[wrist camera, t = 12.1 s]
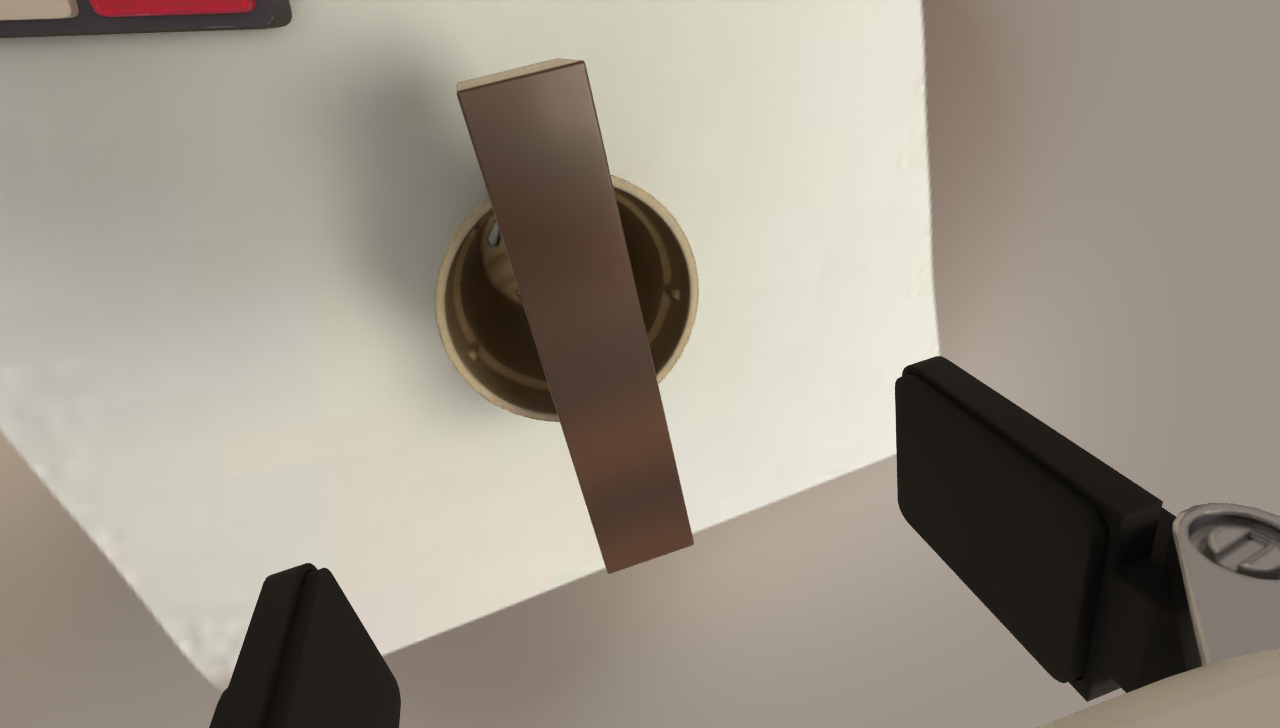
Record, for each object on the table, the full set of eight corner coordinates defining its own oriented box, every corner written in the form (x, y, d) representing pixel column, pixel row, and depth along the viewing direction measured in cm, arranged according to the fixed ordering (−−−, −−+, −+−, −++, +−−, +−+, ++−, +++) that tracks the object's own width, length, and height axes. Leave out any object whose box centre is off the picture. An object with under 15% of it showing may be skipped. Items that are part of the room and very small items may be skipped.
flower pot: (420, 149, 28) (408, 186, 21) (636, 130, 30) (696, 157, 23) (459, 350, 33) (461, 442, 25) (647, 322, 34) (701, 400, 27)
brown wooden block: (455, 83, 20) (455, 91, 16) (559, 57, 20) (584, 59, 16) (585, 497, 27) (608, 575, 23) (660, 473, 28) (694, 545, 24)
